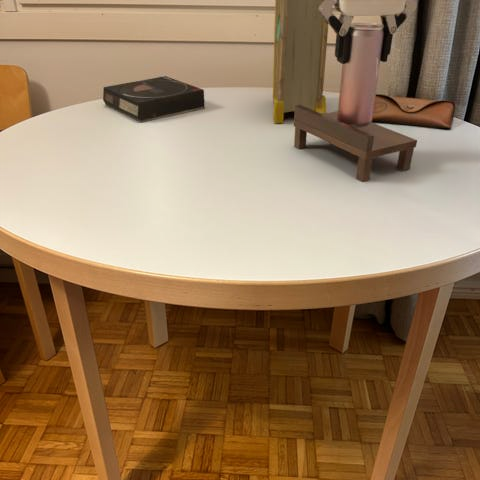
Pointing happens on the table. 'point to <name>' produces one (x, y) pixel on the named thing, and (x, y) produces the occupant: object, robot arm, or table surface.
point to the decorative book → (299, 56)
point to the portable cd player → (154, 98)
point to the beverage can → (360, 74)
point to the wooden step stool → (353, 139)
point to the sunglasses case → (413, 111)
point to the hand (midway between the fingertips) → (361, 60)
